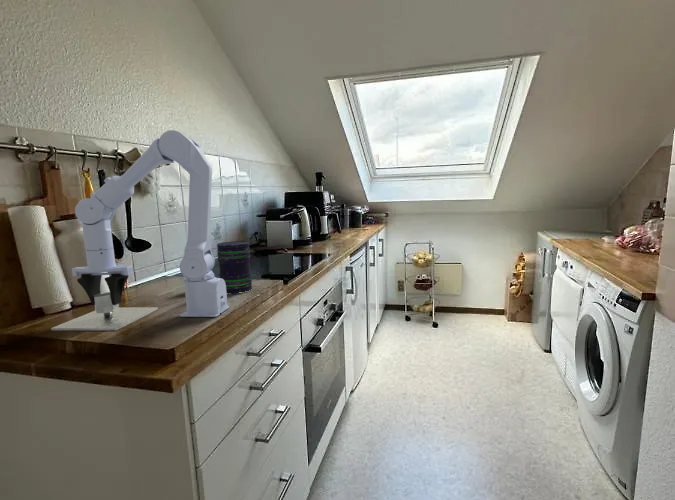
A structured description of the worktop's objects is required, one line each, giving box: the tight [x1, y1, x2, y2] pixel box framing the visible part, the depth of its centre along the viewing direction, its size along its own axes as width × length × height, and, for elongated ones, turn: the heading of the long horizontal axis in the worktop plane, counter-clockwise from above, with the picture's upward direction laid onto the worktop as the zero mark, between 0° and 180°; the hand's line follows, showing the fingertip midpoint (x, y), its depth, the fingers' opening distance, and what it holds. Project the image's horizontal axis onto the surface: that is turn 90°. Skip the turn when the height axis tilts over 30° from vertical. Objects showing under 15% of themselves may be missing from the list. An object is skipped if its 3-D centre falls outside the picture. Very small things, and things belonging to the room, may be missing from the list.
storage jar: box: [216, 240, 253, 294], centre depth 116 cm, size 10×10×15 cm
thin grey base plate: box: [50, 306, 158, 332], centre depth 91 cm, size 16×16×6 cm
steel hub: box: [94, 291, 120, 313], centre depth 91 cm, size 5×5×4 cm
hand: (106, 303), depth 91 cm, fingers closed on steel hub, 5 cm apart
